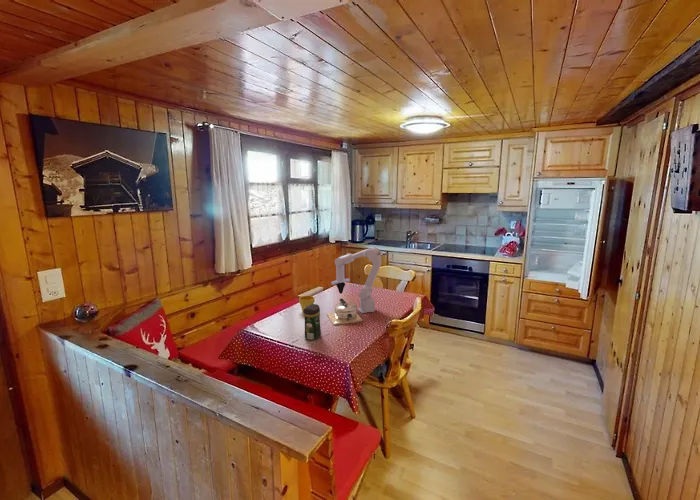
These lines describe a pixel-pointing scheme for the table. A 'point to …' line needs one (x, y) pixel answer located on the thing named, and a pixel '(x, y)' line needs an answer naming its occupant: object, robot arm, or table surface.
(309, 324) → the coffee jar
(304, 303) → the plant pot
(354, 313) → the tan square board
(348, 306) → the cooker lid
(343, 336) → the table surface
